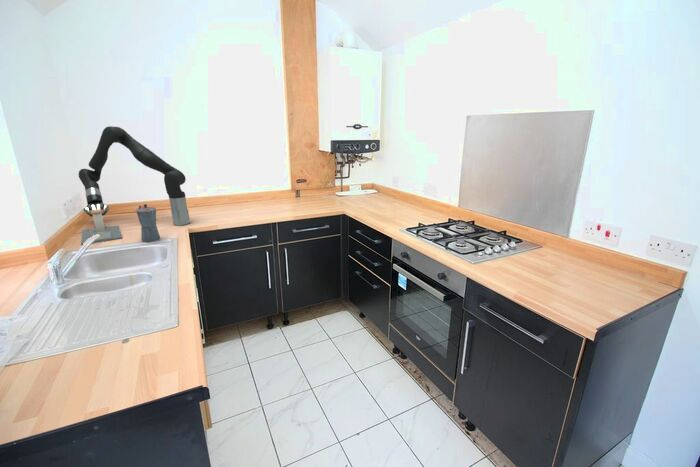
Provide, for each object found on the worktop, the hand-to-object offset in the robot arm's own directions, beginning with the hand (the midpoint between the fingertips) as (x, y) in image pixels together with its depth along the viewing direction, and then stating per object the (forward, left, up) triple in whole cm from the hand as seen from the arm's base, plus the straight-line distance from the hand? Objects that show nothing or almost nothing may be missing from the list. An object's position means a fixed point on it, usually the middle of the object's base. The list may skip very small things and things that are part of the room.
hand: (99, 221), depth 197 cm
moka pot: (-39, -7, -7) cm, 40 cm away
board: (-8, +3, -6) cm, 10 cm away
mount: (-14, +6, -5) cm, 16 cm away
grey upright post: (-6, +3, -5) cm, 8 cm away
